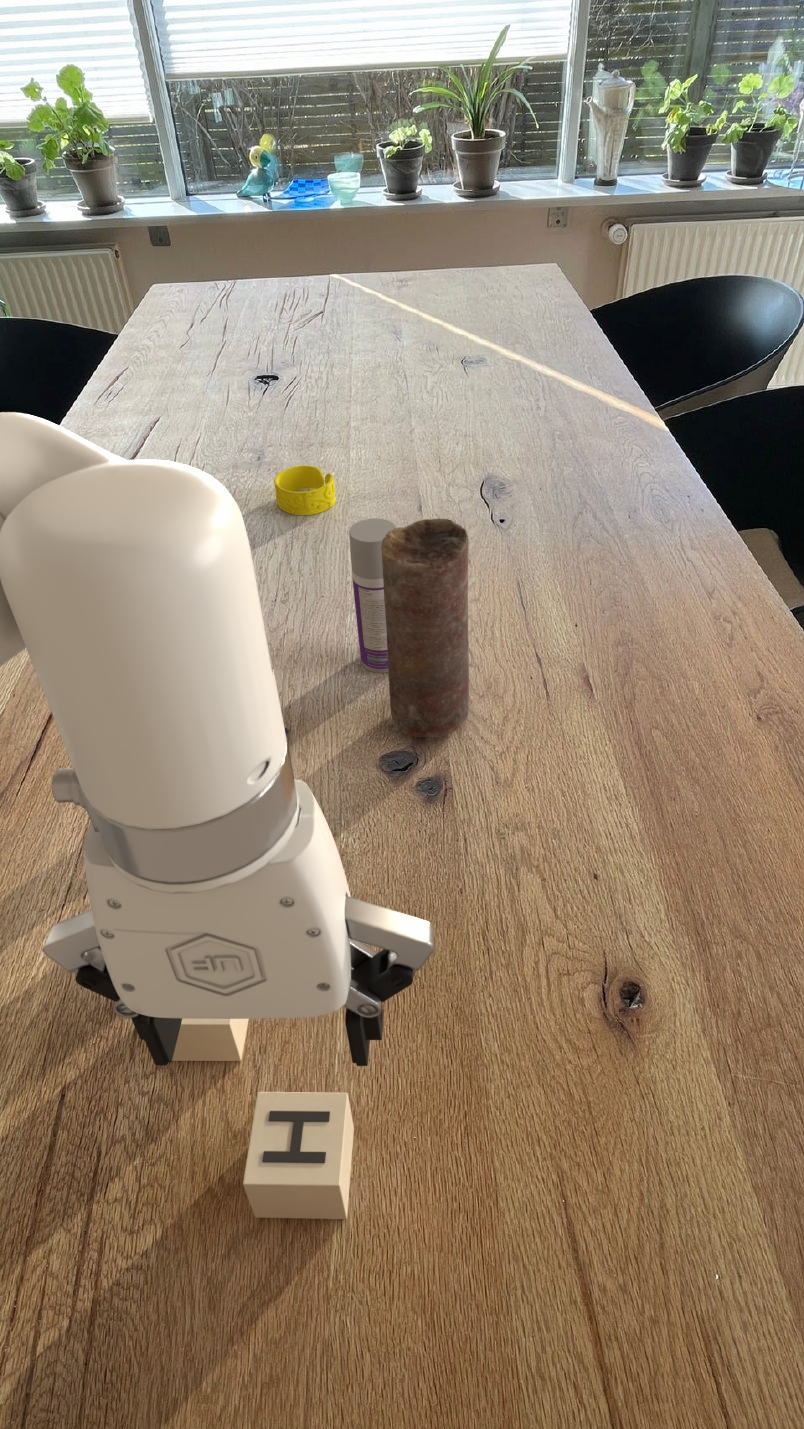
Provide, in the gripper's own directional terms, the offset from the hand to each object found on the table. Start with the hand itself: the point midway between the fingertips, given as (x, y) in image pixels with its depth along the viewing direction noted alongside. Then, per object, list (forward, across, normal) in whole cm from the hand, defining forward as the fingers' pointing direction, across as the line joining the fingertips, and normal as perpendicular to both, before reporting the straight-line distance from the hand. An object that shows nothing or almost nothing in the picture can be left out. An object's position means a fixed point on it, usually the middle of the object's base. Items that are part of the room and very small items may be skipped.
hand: (266, 1038), depth 47 cm
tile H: (+16, 0, +1) cm, 16 cm away
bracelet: (+16, -10, +88) cm, 90 cm away
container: (+16, +2, +53) cm, 55 cm away
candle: (+16, +7, +43) cm, 46 cm away
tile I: (+16, -8, +11) cm, 21 cm away
